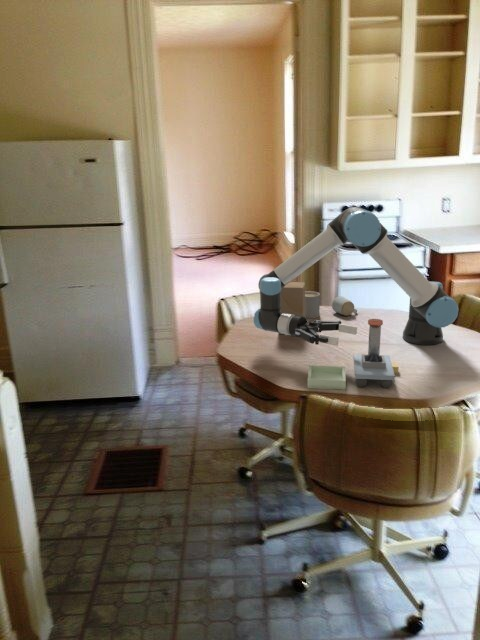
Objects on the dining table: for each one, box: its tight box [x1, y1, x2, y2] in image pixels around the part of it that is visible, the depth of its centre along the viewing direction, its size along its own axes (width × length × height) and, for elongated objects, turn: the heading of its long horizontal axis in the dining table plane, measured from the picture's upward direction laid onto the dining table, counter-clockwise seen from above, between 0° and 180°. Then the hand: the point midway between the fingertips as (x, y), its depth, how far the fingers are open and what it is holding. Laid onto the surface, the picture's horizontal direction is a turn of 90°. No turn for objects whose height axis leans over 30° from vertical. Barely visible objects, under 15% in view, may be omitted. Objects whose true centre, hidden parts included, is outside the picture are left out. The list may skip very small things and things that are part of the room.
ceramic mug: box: [331, 296, 358, 317], centre depth 258 cm, size 11×8×8 cm
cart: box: [353, 353, 399, 389], centre depth 186 cm, size 15×18×7 cm
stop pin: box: [367, 318, 384, 362], centre depth 184 cm, size 5×5×15 cm
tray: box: [307, 364, 347, 391], centre depth 186 cm, size 12×12×3 cm
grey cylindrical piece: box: [305, 290, 321, 319], centre depth 258 cm, size 13×10×10 cm
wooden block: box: [278, 281, 306, 335], centre depth 234 cm, size 10×10×20 cm
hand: (347, 336), depth 189 cm, fingers open, 13 cm apart
